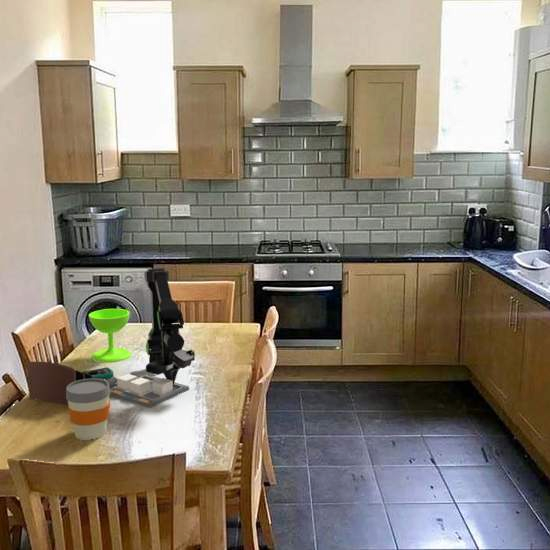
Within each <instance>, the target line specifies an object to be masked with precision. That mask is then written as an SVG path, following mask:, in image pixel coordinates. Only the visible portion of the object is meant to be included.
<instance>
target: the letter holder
mask: <svg viewBox="0 0 550 550" xmlns="http://www.w3.org/2000/svg"><path fill="white" fill-rule="evenodd" d="M27 376H28V379H27V380H28V397H29V400H35V399H36V400H35V401H40V400H41V401H40V402H47V403H52V404H58V405H62V406H67V407H68V400H67V399H66V388H67V386H68V385H69V384H71V383H73V382H75V381H78V380H83V379H92V378H93V376H92V375H90V374H87V373H84V372H83V371H79V370H76V369H74V368H73V367H70V366H66V365H64V364H59V363H56V362H49V361H29V362H28V363H27Z"/></svg>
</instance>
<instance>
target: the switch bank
mask: <svg viewBox="0 0 550 550" xmlns="http://www.w3.org/2000/svg"><path fill="white" fill-rule="evenodd" d="M139 378H144V379H147V380H150V387H151V391H149V392H147V393H144V394H142V395H139V394H136V393H133V392H130V390H128V391H127V390H123V389H120V388H118V387H117V386H114V387H113V386H112V389H110V395H109V396H113V397H116V398H119V399H121V400H124V401H127V402H131V403H134V404H137V405H139V406H143V407H145V406H146V408H149V407H150V408H152V406H153V407H155V406H157V405H159V404H161V403H163V402H166V401H167V400H170V399H172V398H174V397H177V396H178V394H179V395H181V394H182V392H183V393H185V392H188V391H189V390H190V386H189V385H186V384H185V385H184V384H182V383H178V382H176V381H175V382H174V385H173V391H171V392H169V393H167V394H164V395H162V396H160V395H157V394H154V393H153V384H152V382H154V381H157V380H159V379H161V378H162V377H158V376H154V375H150V374H148V375H147V374H144V375H141V376H139V377H137V379H139ZM180 393H181V394H180ZM171 397H172V398H171ZM169 398H170V399H169ZM165 400H166V401H165Z"/></svg>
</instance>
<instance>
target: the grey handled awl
mask: <svg viewBox="0 0 550 550" xmlns="http://www.w3.org/2000/svg"><path fill="white" fill-rule="evenodd" d="M117 378H118V377H116V376H114V377H112V378H110V379H106V381H108V383H109V388H110V389H111V388H113V386H114V385H117Z"/></svg>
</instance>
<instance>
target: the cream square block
mask: <svg viewBox="0 0 550 550" xmlns="http://www.w3.org/2000/svg"><path fill="white" fill-rule="evenodd" d="M160 378H161V379H159V380H157V381H154V382H152V384H153V393H154V394H157V395H160V396H162V395H164V394H167V393H169V392H171V391H173V381H172V380H169V379H166V377H160Z"/></svg>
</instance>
